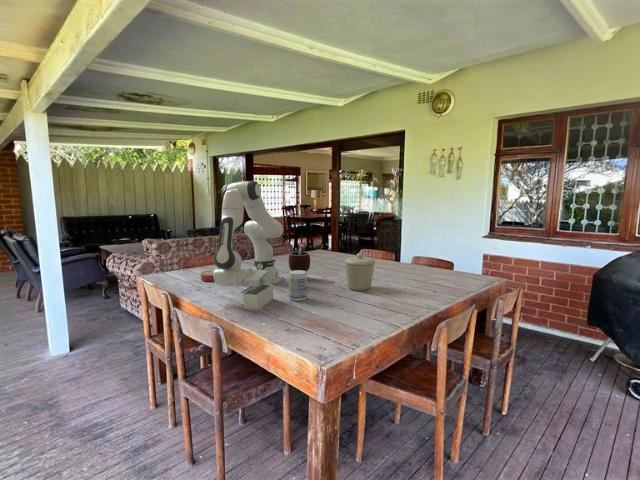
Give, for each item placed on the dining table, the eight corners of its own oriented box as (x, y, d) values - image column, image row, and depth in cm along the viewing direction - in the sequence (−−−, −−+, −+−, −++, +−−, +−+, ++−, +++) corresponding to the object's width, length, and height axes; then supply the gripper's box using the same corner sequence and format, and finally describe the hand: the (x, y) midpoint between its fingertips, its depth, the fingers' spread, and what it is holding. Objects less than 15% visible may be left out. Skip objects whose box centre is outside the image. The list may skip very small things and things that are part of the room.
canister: (373, 293, 201) (374, 256, 199) (341, 291, 205) (342, 255, 202) (375, 285, 219) (376, 251, 216) (345, 283, 223) (346, 250, 220)
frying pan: (219, 270, 260) (219, 261, 259) (236, 271, 258) (236, 262, 257) (197, 281, 229) (196, 271, 228) (216, 282, 226) (215, 272, 225)
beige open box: (261, 298, 193) (260, 283, 192) (273, 299, 191) (273, 284, 190) (243, 310, 174) (243, 294, 173) (257, 311, 172) (256, 295, 171)
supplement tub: (300, 302, 185) (300, 274, 183) (285, 300, 190) (285, 272, 188) (310, 297, 194) (310, 271, 192) (295, 295, 198) (295, 269, 196)
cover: (259, 283, 192) (258, 281, 192) (272, 278, 190) (271, 276, 190) (241, 293, 173) (240, 292, 173) (256, 287, 171) (255, 285, 171)
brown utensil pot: (309, 282, 226) (309, 250, 224) (287, 282, 227) (287, 250, 224) (310, 276, 242) (310, 246, 239) (290, 276, 242) (289, 246, 239)
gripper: (238, 276, 171) (267, 277, 170) (251, 267, 191) (276, 268, 190) (239, 289, 172) (267, 290, 171) (251, 279, 192) (276, 279, 191)
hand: (272, 278), depth 180 cm, fingers closed, pressing on cover
